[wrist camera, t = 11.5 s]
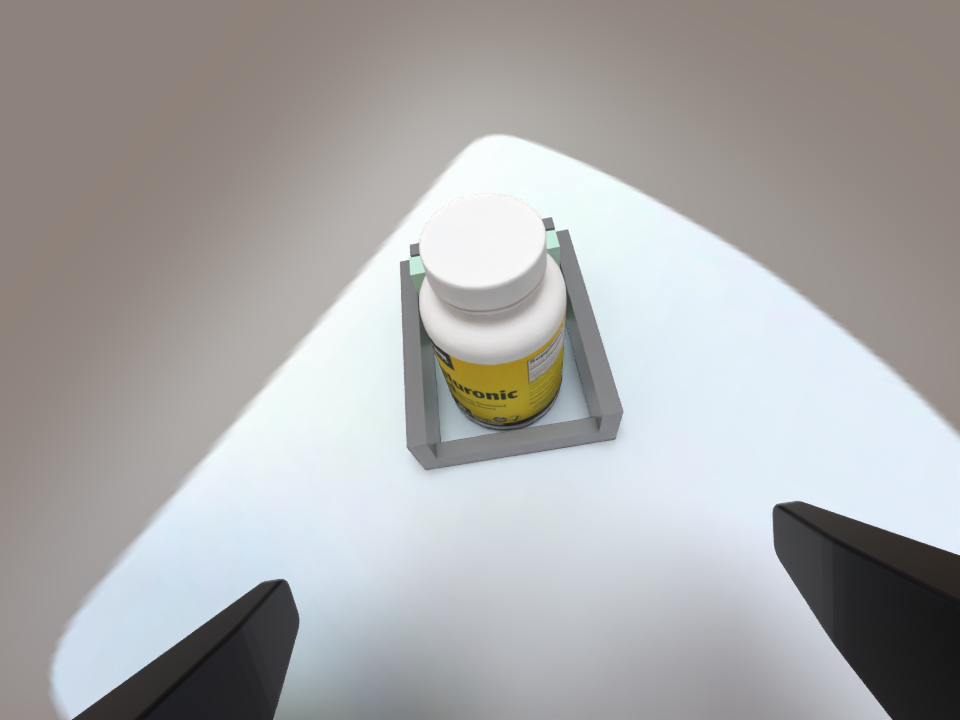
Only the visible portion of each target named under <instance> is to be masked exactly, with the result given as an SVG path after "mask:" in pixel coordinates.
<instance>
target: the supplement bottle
mask: <svg viewBox="0 0 960 720" xmlns="http://www.w3.org/2000/svg"><path fill="white" fill-rule="evenodd" d="M419 252H420V258H421V261H422V264H423V267H424V270H425V274H426V276H425V278H424V280H423V283H422V286H421V290H420V295H419V309H420V315H421V318H422V321H423V325H424V327H425V330H426V333H427V336H428V338H429V340H430V342H431V345H432V347H433V349H434V352H435V354H436V357H437V359H438V362H439V365H440V367H441V369H442V372H443V375H444V377H445V379H446V382H447V384H448V387H449V389H450V392H451V394H452V396H453V398H454V400H455V402H456V404H457V405H458V407H459V408H460V409H461V411H462V412H463V413H464V414H465V415H467V416H468V417H469V418H470V419H472V420H473V421H475V422H477V423H479V424H481V425H483V426H486V427H489V428H494V429H515V428H519V427H523V426H526V425H528V424H530V423H532V422H534V421H536V420H537V419H539V418H540V417H541V416H542V415H544V414H545V413H546V412H547V411H548V410H549V408H550V407H551V406H552V404H553V403H554V401H555V399H556V397H557V395H558V393H559V389H560V385H561V381H562V367H563V350H564V333H565V316H566V286H565V281H564V278H563V275H562V273H561V270H560V269H559V267H558V265H557V264H556V262H555V261H554V259H553V258H552V257H551V256H550V255H549V254H548V253H547V244H546V230H545V226H544V224H543V221H542V219H541V217H540V216H539V214H538V213H537V212H536V211H535V210H534V209H533V208H532V207H531V206H529V205H528V204H526V203H525V202H523V201H521V200H519V199H517V198H514V197H511V196H507V195H501V194H477V195H472V196H467V197H464V198H461V199H458V200H456V201H454V202H452V203H450V204H448V205H446V206H445V207H443V208H442V209H440V210H439V211H438V212H437V213H435V214H434V215H433V217H431V219H430V220H429V221H428V222H427V224H426V226H425V227H424V229H423V231H422V234H421V238H420V242H419Z"/></svg>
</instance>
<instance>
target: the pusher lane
mask: <svg viewBox="0 0 960 720" xmlns="http://www.w3.org/2000/svg"><path fill="white" fill-rule="evenodd" d="M542 221H543V224H544V226H545V230H546V231H551V230H555V227H554V223H553V220H552V217H550V218H545V219H542ZM556 235H557V238H558V242H559V245H560V270H561V273H562V275H563V278H564V281H565V286H566V316H565V321H566V325H567V329H568V333H569V337H570V341H571V344H572V348H573V352H574V356H575V360H576V363H577V367H578V371H579V375H580V379H581V383H582V386H583V390H584V394H585V398H586V402H587V405H588V409H589V413H590V417H591V418H585V419H579V420H573V421H567V422H561V423H555V424H549V425H543V426H537V427H531V428H525V429H519V430H513V431H507V432H501V433H495V434H489V435H483V436H477V437H471V438H465V439H459V440H453V441H447V442H441V440H440V427H439V414H438V401H437V388H436V375H435V362H434V349H433V347H432V345H431V342H430V340H429V338H428V336H427V333H426V330H425V327H424V325H423V321H422V318H421V315H420V309H419V295H418V293H417V290H416V288H415V286H414V283H413V281H412V278H411V276H410V262H409V260H407V261H402V262H400V274H401V302H402V329H403V356H404V383H405V410H406V437H407V448H408V450H409V451H410V452H411V453H412V454H413V456H414V457H415V458H416V459H417V460H418V462H419V463H420V464H421V465H422V466H423V468H424V469H425V470H428V469H434V468H440V467H446V466H452V465H458V464H465V463H471V462H477V461H483V460H489V459H495V458H501V457H508V456H514V455H520V454H526V453H532V452H538V451H545V450H551V449H557V448H563V447H569V446H575V445H581V444H588V443H594V442H600V441H606V440H612V439H615V438H616V435H617V431H618V428H619V424H620V421H621V418H622V414H623V409H622V406H621V402H620V399H619V396H618V392H617V389H616V386H615V383H614V379H613V376H612V373H611V369H610V366H609V363H608V360H607V356H606V353H605V350H604V346H603V343H602V340H601V337H600V333H599V330H598V327H597V323H596V320H595V317H594V314H593V310H592V307H591V304H590V300H589V297H588V294H587V291H586V287H585V284H584V281H583V277H582V274H581V271H580V267H579V264H578V261H577V258H576V254H575V251H574V248H573V244H572V241H571V238H570V235H569V231H568V230H563V231H557V232H556ZM410 255H411V257H416V256H420V252H419V243H417V244H412V245H410Z"/></svg>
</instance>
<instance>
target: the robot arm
mask: <svg viewBox="0 0 960 720" xmlns="http://www.w3.org/2000/svg"><path fill="white" fill-rule="evenodd" d="M773 535H774V547H775V551H776V554H777V556H778V558H779V560H780V562H781V563H782V565H783V566H784V568H785V570H786V571H787V573H788V574H789V576H790V577H791V579H792V580H793V582H794V584H795V585H796V587H797V588H798V590H799V591H800V593H801V594H802V596H803V598H804V599H805V601H806V602H807V604H808V605H809V607H810V609H811V610H812V612H813V613H814V615H815V616H816V618H817V619H818V621H819V623H820V624H821V626H822V627H823V629H824V630H825V632H826V633H827V635H828V636H829V638H830V639H831V641H832V642H833V644H834V645H835V646H836V648H837V649H838V650H839V652H840V653H841V654H842V656H843V657H844V658H845V660H846V661H847V662H848V663H849V665H850V666H851V667H852V669H853V670H854V671H855V672H856V674H857V675H858V676H859V678H860V679H861V680H862V681H863V683H864V684H865V685H866V687H867V688H868V689H869V690H870V692H871V693H872V694H873V696H874V697H875V698H876V699H877V701H878V702H879V703H880V705H881V706H882V707H883V708H884V710H885V711H886V712H887V714H888V715H889V716H890V717H891V719H892V720H960V555H957V554H954V553H951V552H948V551H945V550H942V549H939V548H936V547H933V546H930V545H928V544H925V543H922V542H919V541H916V540H913V539H910V538H907V537H904V536H901V535H898V534H895V533H892V532H889V531H886V530H884V529H881V528H878V527H875V526H872V525H869V524H866V523H863V522H860V521H857V520H854V519H851V518H848V517H845V516H842V515H839V514H837V513H834V512H831V511H828V510H825V509H822V508H819V507H816V506H813V505H810V504H807V503H804V502H801V501H793V502H787V503H780V504H776V505H775V506H774V508H773ZM298 628H299V614H298V610H297V607H296V604H295V601H294V598H293V595H292V592H291V589H290V586H289V584H288V582H287V581H286V580H284V579H277V580H270V581H264V582H262V583H260V584H259V585H257V586H256V587H255V588H253V589H252V590H251V591H249V592H248V593H246V594H245V595H244V596H242V597H241V598H239V599H238V600H237V601H235V602H234V603H233V604H231V605H230V606H228V607H227V608H226V609H224V610H223V611H222V612H220V613H219V614H217V615H216V616H215V617H213V618H212V619H210V620H209V621H208V622H206V623H205V624H204V625H202V626H201V627H199V628H198V629H197V630H195V631H194V632H192V633H191V634H190V635H188V636H187V637H186V638H184V639H183V640H181V641H180V642H179V643H177V644H176V645H174V646H173V647H172V648H170V649H169V650H168V651H166V652H165V653H163V654H162V655H161V656H159V657H158V658H157V659H155V660H154V661H152V662H151V663H150V664H148V665H147V666H145V667H144V668H143V669H141V670H140V671H139V672H137V673H136V674H134V675H133V676H132V677H130V678H129V679H127V680H126V681H125V682H123V683H122V684H121V685H119V686H118V687H116V688H115V689H114V690H112V691H111V692H110V693H108V694H107V695H105V696H104V697H103V698H101V699H100V700H98V701H97V702H96V703H94V704H93V705H92V706H90V707H89V708H87V709H86V710H85V711H83V712H82V713H80V714H79V715H78V716H76V717H75V718H74V719H72V720H273V718H274V715H275V711H276V708H277V705H278V702H279V698H280V694H281V691H282V687H283V683H284V680H285V676H286V673H287V669H288V665H289V662H290V658H291V654H292V651H293V647H294V643H295V640H296V636H297V633H298Z"/></svg>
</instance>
